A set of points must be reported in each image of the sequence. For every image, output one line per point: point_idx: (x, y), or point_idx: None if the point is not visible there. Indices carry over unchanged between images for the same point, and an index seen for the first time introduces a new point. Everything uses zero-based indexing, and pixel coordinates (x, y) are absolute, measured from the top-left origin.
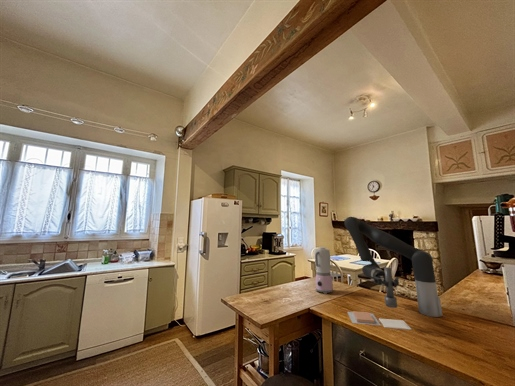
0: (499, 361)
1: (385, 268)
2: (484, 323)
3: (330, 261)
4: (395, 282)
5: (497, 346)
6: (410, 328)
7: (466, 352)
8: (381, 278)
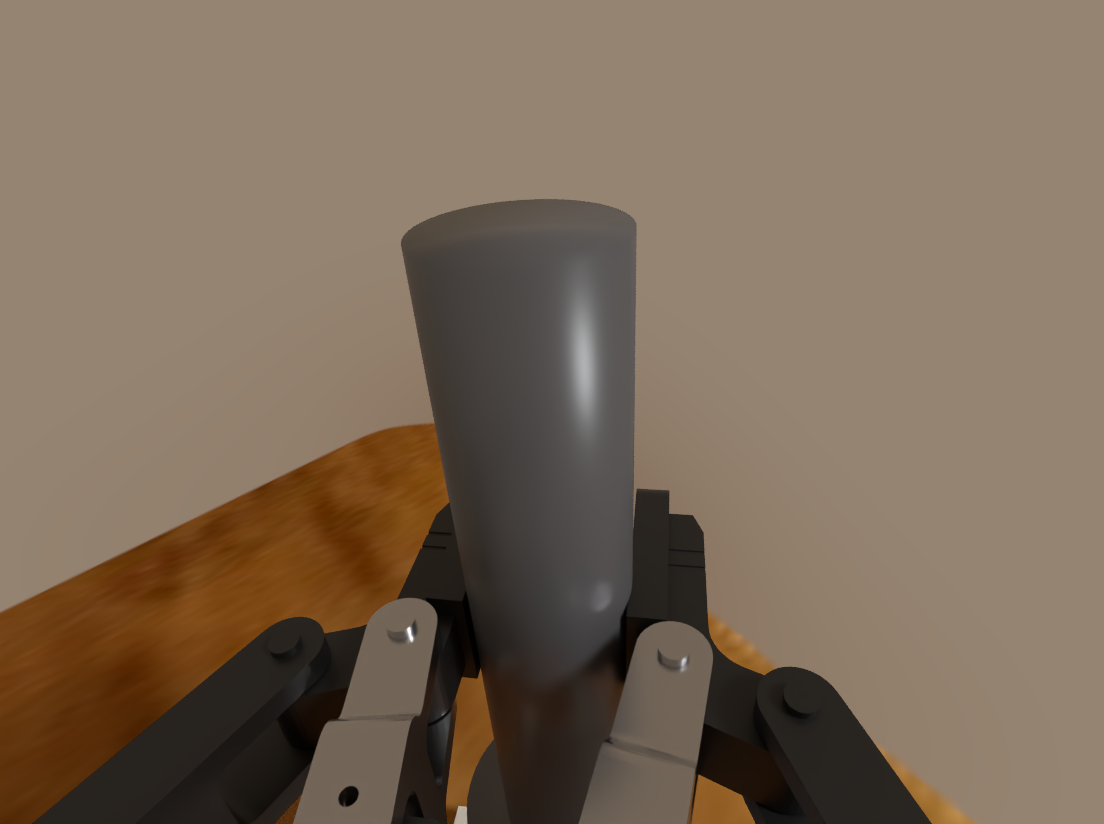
0: (256, 510)
1: (624, 224)
2: None
3: None
4: (418, 565)
5: (40, 628)
6: (459, 816)
7: (330, 559)
8: (688, 760)
